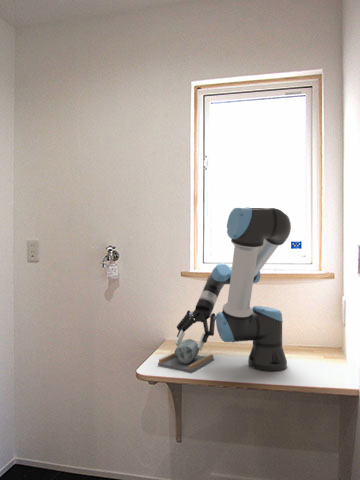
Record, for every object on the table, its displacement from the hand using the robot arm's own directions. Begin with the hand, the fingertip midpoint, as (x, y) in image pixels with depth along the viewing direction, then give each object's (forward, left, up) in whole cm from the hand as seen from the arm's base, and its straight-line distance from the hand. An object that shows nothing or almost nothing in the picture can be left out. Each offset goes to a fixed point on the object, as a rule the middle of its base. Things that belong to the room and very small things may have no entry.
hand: (187, 346), depth 157 cm
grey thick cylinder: (0, +1, -6) cm, 6 cm away
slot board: (0, +1, -6) cm, 7 cm away
